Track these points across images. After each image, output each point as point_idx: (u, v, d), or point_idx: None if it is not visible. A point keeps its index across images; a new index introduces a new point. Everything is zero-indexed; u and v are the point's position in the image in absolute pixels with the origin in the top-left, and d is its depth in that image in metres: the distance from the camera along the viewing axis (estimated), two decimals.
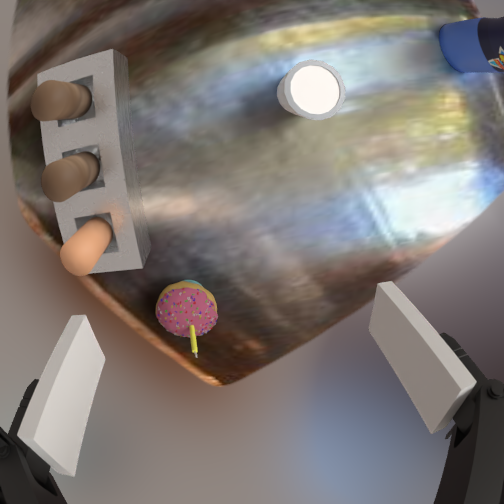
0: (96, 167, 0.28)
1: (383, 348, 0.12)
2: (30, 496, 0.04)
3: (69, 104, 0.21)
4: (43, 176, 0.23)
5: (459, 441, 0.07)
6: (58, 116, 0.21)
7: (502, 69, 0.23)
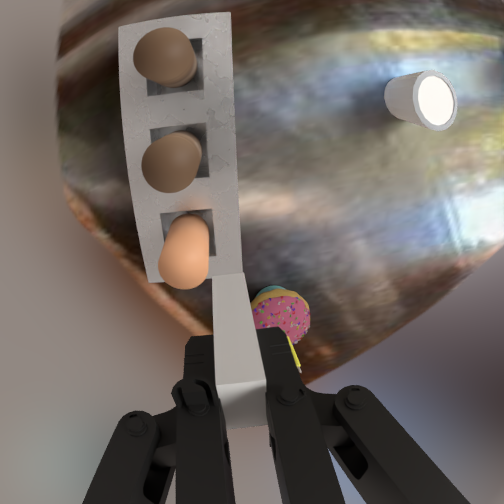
0: (201, 152, 0.25)
1: None
2: (216, 468, 0.06)
3: (190, 65, 0.18)
4: (146, 156, 0.19)
5: None
6: (175, 77, 0.17)
7: None
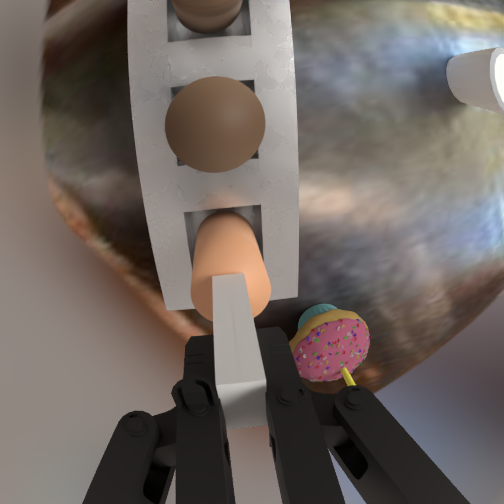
0: None
1: None
2: (216, 468, 0.06)
3: None
4: (174, 108, 0.10)
5: None
6: None
7: None
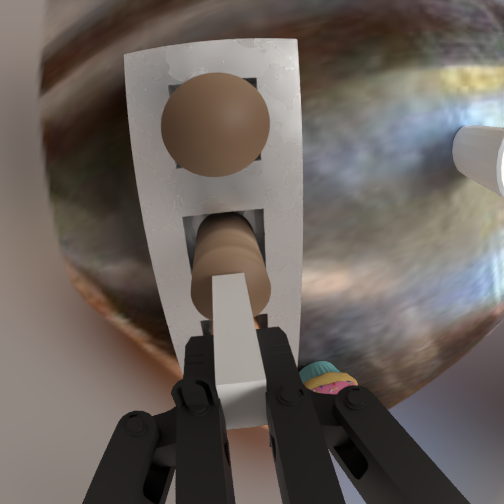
0: None
1: None
2: (216, 468, 0.06)
3: None
4: (197, 281, 0.14)
5: None
6: None
7: None
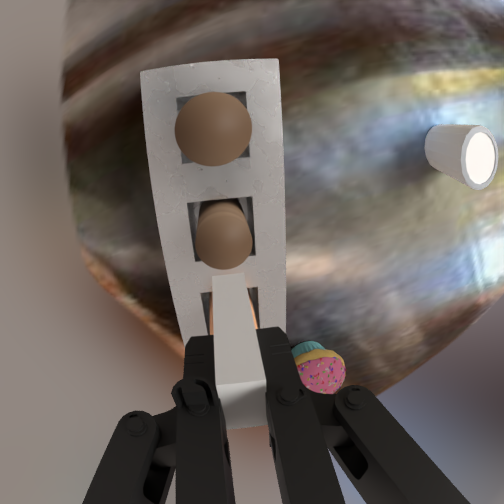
0: None
1: None
2: (216, 468, 0.06)
3: None
4: (200, 235, 0.20)
5: None
6: None
7: None
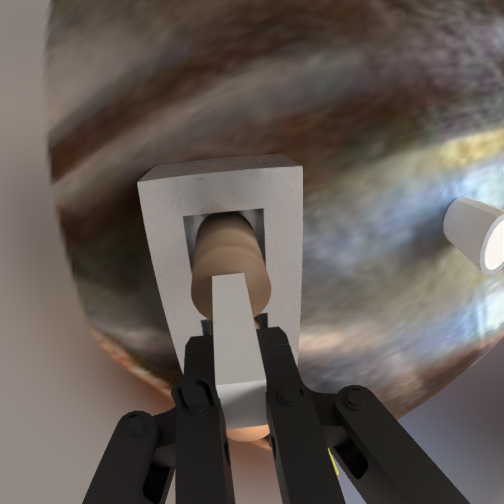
0: None
1: None
2: (216, 468, 0.06)
3: None
4: None
5: None
6: None
7: None
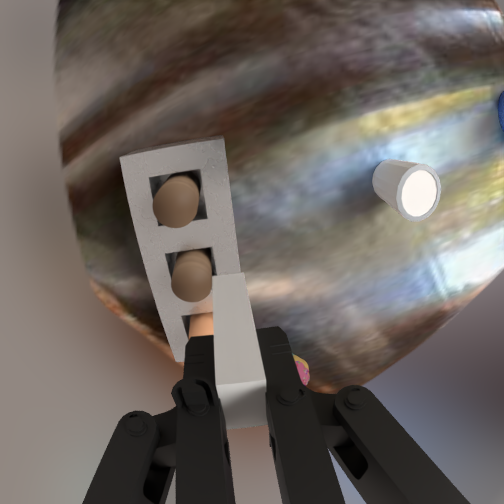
0: (211, 257, 0.34)
1: None
2: (216, 468, 0.06)
3: None
4: (173, 279, 0.28)
5: None
6: None
7: None
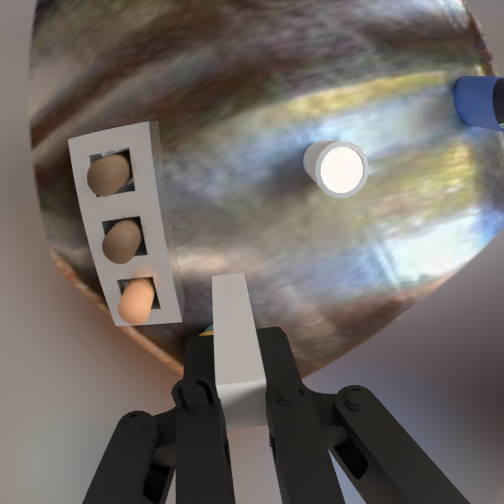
0: None
1: None
2: (216, 468, 0.06)
3: (123, 180, 0.29)
4: (104, 242, 0.31)
5: None
6: None
7: None
